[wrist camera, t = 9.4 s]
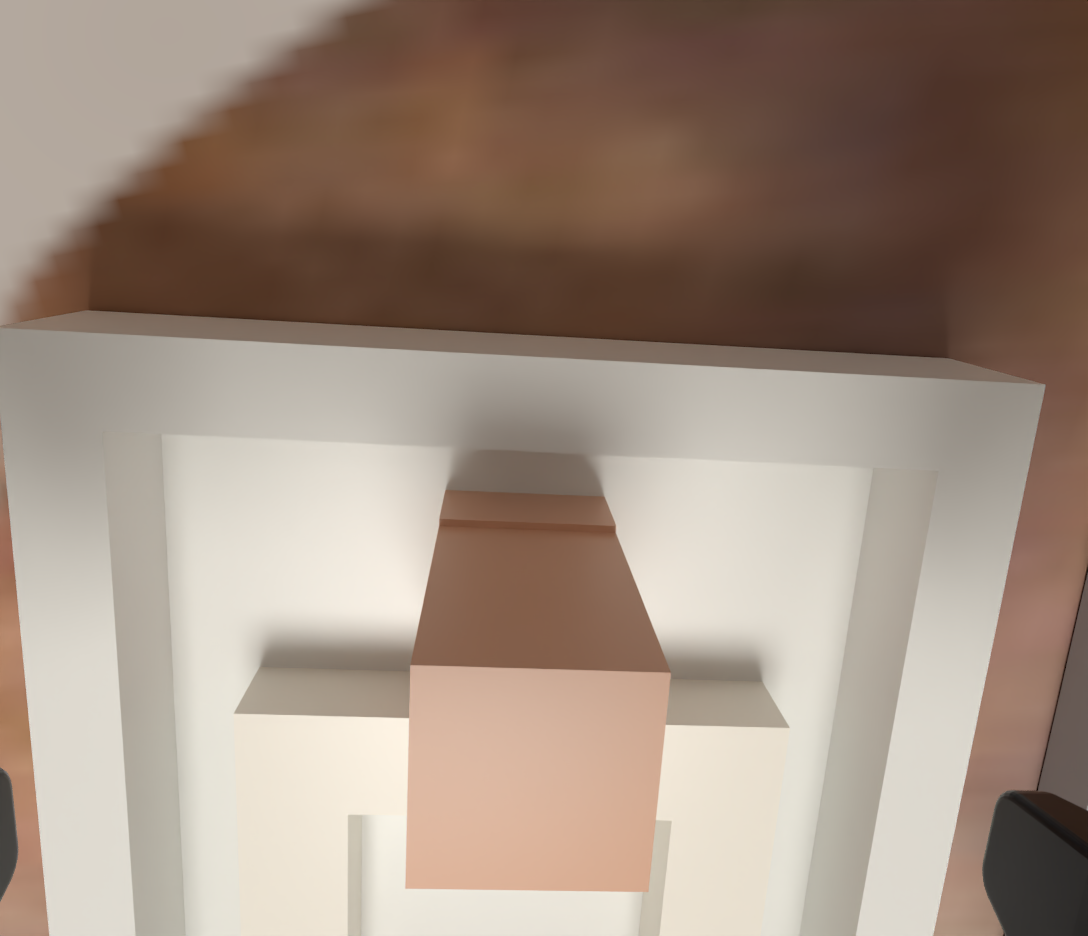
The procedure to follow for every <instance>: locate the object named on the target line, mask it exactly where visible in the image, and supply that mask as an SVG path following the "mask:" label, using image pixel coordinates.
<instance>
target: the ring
mask: <svg viewBox="0 0 1088 936" xmlns="http://www.w3.org/2000/svg"><path fill="white" fill-rule="evenodd" d="M670 678H671V671H670V669H669V666H668V664H667V661H666V659H665V656H664V654H663V651H662V649H661V646H660V644H659V641H658V639H657V636H656V633H655V631H654V628H653V626H652V623H651V621H650V618H649V616H648V613H647V611H646V608H645V606H644V603H643V600H642V598H641V595H640V593H639V590H638V588H637V585H636V583H635V580H634V578H633V575H632V573H631V570H630V567H629V565H628V562H627V560H626V557H625V555H624V552H623V550H622V547H621V545H620V542H619V540H618V537H617V534H616V524H615V521H614V519H613V516H612V514H611V511H610V509H609V506H608V504H607V501H606V499H605V497H601V496H577V495H553V494H529V493H506V492H482V491H458V490H445V494H444V499H443V503H442V508H441V513H440V517H439V528H438V533H437V538H436V543H435V548H434V553H433V557H432V562H431V567H430V572H429V577H428V582H427V587H426V591H425V596H424V601H423V606H422V611H421V616H420V620H419V625H418V630H417V635H416V640H415V645H414V650H413V654H412V659H411V664H410V671H382V670H347V669H313V668H279V667H259V669H258V670H257V672H256V674H255V676H254V678H253V679H252V681H251V683H250V685H249V687H248V688H247V690H246V692H245V694H244V696H243V697H242V699H241V701H240V703H239V705H238V706H237V708H236V710H235V712H234V744H235V774H236V804H237V834H238V864H239V894H240V925H241V936H361V864H362V815H399V816H407V837H406V882H405V889H466V890H538V891H610V892H643V898H642V908H641V917H640V927H639V936H760V935H761V928H762V921H763V914H764V907H765V900H766V893H767V886H768V879H769V872H770V865H771V858H772V851H773V844H774V837H775V830H776V823H777V816H778V809H779V802H780V795H781V788H782V781H783V774H784V767H785V760H786V753H787V746H788V739H789V732H790V727H789V726H788V724H787V722H786V720H785V719H784V717H783V715H782V714H781V712H780V710H779V709H778V707H777V705H776V704H775V702H774V700H773V698H772V697H771V695H770V693H769V692H768V690H767V688H766V687H765V685H764V683H763V682H759V681H725V680H690V679H670Z"/></svg>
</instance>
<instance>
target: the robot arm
mask: <svg viewBox="0 0 1088 936" xmlns="http://www.w3.org/2000/svg"><path fill="white" fill-rule="evenodd" d="M17 858H18V840H17V830H16V820H15V811H14V801H13V791H12V784H11V780H10V777H9V775H8V773H7V772H6V771H4V770H3V769H2V768H0V901H1V899H2V897H3V895H4V893H5V891H6V889H7V887H8V885H9V883H10V881H11V879H12V876H13V874H14V871H15V868H16V863H17ZM982 871H983V882H984V886H985V890H986V893H987V895H988V898H989V900H990V902H991V904H992V907H993V909H994V911H995V913H996V915H997V918H998V920H999V922H1000V924H1001V926H1002V929H1003V931H1004V933H1005V935H1006V936H1088V810H1086V809H1084V808H1082V807H1079V806H1077V805H1075V804H1073V803H1071V802H1069V801H1067V800H1065V799H1063V798H1061V797H1059V796H1057V795H1055V794H1053V793H1050V792H1045V791H1019V790H1010V791H1006V792H1005V793H1003V794H1002V795H1000V797H999V798H998V800H997V802H996V805H995V809H994V813H993V818H992V823H991V827H990V832H989V837H988V841H987V846H986V850H985V855H984V860H983V867H982Z"/></svg>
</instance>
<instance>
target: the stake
mask: <svg viewBox="0 0 1088 936" xmlns="http://www.w3.org/2000/svg"><path fill="white" fill-rule="evenodd" d="M1038 791H1045V792H1050V793H1053V794H1055V795H1057V796H1059V797H1061V798H1063V799H1065V800H1067V801H1069V802H1071V803H1073V804H1075V805H1077V806H1079V807H1082V808H1084V809H1086V810H1088V573H1087V578H1086V582H1085V586H1084V591H1083V595H1082V600H1081V604H1080V608H1079V613H1078V617H1077V621H1076V626H1075V630H1074V635H1073V639H1072V643H1071V648H1070V652H1069V656H1068V661H1067V665H1066V670H1065V674H1064V678H1063V683H1062V687H1061V691H1060V696H1059V700H1058V705H1057V709H1056V713H1055V718H1054V722H1053V726H1052V731H1051V735H1050V740H1049V744H1048V748H1047V753H1046V757H1045V761H1044V766H1043V770H1042V775H1041V779H1040V783H1039V788H1038ZM1005 936H1006V935H1005Z"/></svg>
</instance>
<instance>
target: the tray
mask: <svg viewBox="0 0 1088 936" xmlns="http://www.w3.org/2000/svg"><path fill="white" fill-rule="evenodd" d="M1045 386H1046V385H1045V384H1042V383H1038V382H1034V381H1031V380H1027V379H1023V378H1020V377H1016V376H1012V375H1009V374H1005V373H1001V372H998V371H994V370H990V369H987V368H983V367H979V366H975V365H972V364H968V363H964V362H961V361H957V360H953V359H950V358H932V357H915V356H897V355H879V354H861V353H843V352H825V351H807V350H789V349H771V348H753V347H735V346H717V345H700V344H682V343H664V342H646V341H628V340H610V339H592V338H574V337H556V336H538V335H520V334H502V333H484V332H467V331H449V330H431V329H413V328H395V327H377V326H359V325H341V324H323V323H305V322H287V321H269V320H252V319H234V318H216V317H198V316H180V315H162V314H144V313H126V312H108V311H90V310H86V311H80V312H74V313H69V314H63V315H58V316H52V317H47V318H41V319H36V320H30V321H25V322H19V323H13V324H8V325H2V326H0V419H1V429H2V440H3V450H4V461H5V471H6V482H7V493H8V503H9V514H10V524H11V535H12V545H13V556H14V566H15V577H16V587H17V598H18V609H19V619H20V630H21V640H22V651H23V661H24V672H25V682H26V693H27V704H28V714H29V725H30V735H31V746H32V756H33V767H34V777H35V788H36V798H37V809H38V820H39V830H40V841H41V851H42V862H43V872H44V883H45V893H46V904H47V914H48V925H49V936H241V925H240V894H239V864H238V834H237V804H236V774H235V744H234V712H235V710H236V708H237V706H238V705H239V703H240V701H241V699H242V697H243V696H244V694H245V692H246V690H247V688H248V687H249V685H250V683H251V681H252V679H253V678H254V676H255V674H256V672H257V670H258V669H259V667H279V668H313V669H347V670H382V671H410V664H411V659H412V654H413V650H414V645H415V640H416V635H417V630H418V625H419V620H420V616H421V611H422V606H423V601H424V596H425V591H426V587H427V582H428V577H429V572H430V567H431V562H432V557H433V553H434V548H435V543H436V538H437V533H438V528H439V517H440V513H441V508H442V503H443V499H444V494H445V490H458V491H482V492H506V493H529V494H553V495H577V496H601V497H605V499H606V501H607V504H608V506H609V509H610V511H611V514H612V516H613V519H614V521H615V524H616V534H617V537H618V540H619V542H620V545H621V547H622V550H623V552H624V555H625V557H626V560H627V562H628V565H629V567H630V570H631V573H632V575H633V578H634V580H635V583H636V585H637V588H638V590H639V593H640V595H641V598H642V600H643V603H644V606H645V608H646V611H647V613H648V616H649V618H650V621H651V623H652V626H653V628H654V631H655V633H656V636H657V639H658V641H659V644H660V646H661V649H662V651H663V654H664V656H665V659H666V661H667V664H668V666H669V669H670V671H671V678H670V679H690V680H725V681H759V682H763V683H764V685H765V687H766V688H767V690H768V692H769V693H770V695H771V697H772V698H773V700H774V702H775V704H776V705H777V707H778V709H779V710H780V712H781V714H782V715H783V717H784V719H785V720H786V722H787V724H788V726H789V727H790V732H789V739H788V746H787V753H786V760H785V767H784V774H783V781H782V788H781V795H780V802H779V809H778V816H777V823H776V830H775V837H774V844H773V851H772V858H771V865H770V872H769V879H768V886H767V893H766V900H765V907H764V914H763V921H762V928H761V935H760V936H933V934H934V929H935V924H936V919H937V914H938V909H939V904H940V900H941V895H942V890H943V885H944V880H945V875H946V870H947V865H948V860H949V855H950V851H951V846H952V841H953V836H954V831H955V826H956V821H957V816H958V811H959V807H960V802H961V797H962V792H963V787H964V782H965V777H966V772H967V767H968V763H969V758H970V753H971V748H972V743H973V738H974V733H975V728H976V723H977V719H978V714H979V709H980V704H981V699H982V694H983V689H984V684H985V679H986V674H987V670H988V665H989V660H990V655H991V650H992V645H993V640H994V635H995V630H996V626H997V621H998V616H999V611H1000V606H1001V601H1002V596H1003V591H1004V586H1005V582H1006V577H1007V572H1008V567H1009V562H1010V557H1011V552H1012V547H1013V542H1014V538H1015V533H1016V528H1017V523H1018V518H1019V513H1020V508H1021V503H1022V498H1023V494H1024V489H1025V484H1026V479H1027V474H1028V469H1029V464H1030V459H1031V454H1032V449H1033V445H1034V440H1035V435H1036V430H1037V425H1038V420H1039V415H1040V410H1041V405H1042V401H1043V396H1044V391H1045ZM406 837H407V816H399V815H362V864H361V936H639V927H640V917H641V908H642V898H643V892H610V891H538V890H466V889H405V882H406Z"/></svg>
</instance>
